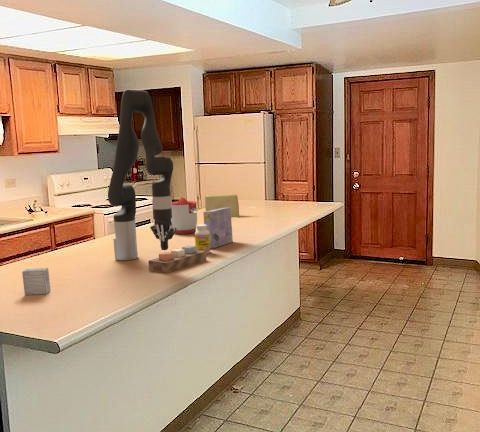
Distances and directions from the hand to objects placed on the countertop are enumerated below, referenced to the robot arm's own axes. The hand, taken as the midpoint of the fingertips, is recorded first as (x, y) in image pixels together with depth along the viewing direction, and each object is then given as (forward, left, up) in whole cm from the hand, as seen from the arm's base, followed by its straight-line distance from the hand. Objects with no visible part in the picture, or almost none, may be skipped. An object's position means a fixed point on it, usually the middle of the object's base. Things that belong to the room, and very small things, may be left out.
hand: (164, 249), depth 218 cm
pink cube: (0, 0, -6) cm, 6 cm away
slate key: (+5, +13, -6) cm, 15 cm away
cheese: (-21, +138, -8) cm, 139 cm away
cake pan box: (+7, +49, -8) cm, 50 cm away
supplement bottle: (+5, +31, -8) cm, 32 cm away
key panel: (+3, +7, -8) cm, 11 cm away
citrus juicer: (-24, +81, -8) cm, 85 cm away
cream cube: (+3, +7, -6) cm, 9 cm away
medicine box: (-32, -38, -8) cm, 51 cm away
